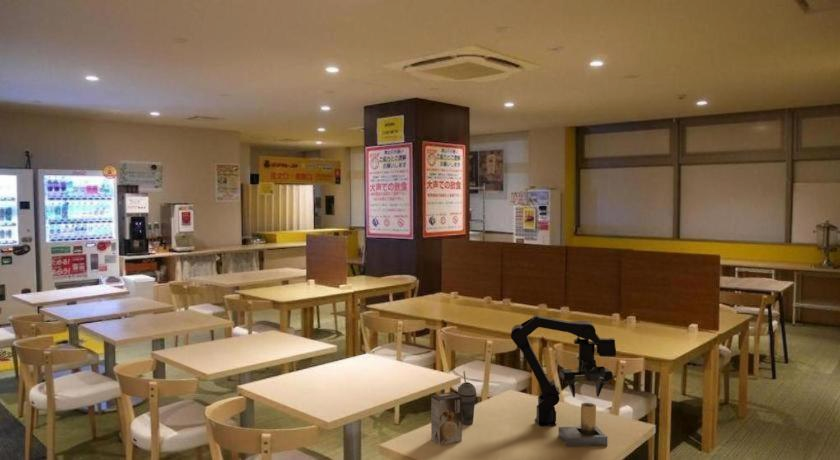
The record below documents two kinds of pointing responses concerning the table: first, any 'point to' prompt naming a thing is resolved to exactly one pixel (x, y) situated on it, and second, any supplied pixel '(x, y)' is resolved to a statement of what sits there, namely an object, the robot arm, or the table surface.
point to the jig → (581, 437)
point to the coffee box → (446, 418)
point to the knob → (588, 418)
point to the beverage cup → (467, 401)
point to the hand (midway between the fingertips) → (585, 396)
